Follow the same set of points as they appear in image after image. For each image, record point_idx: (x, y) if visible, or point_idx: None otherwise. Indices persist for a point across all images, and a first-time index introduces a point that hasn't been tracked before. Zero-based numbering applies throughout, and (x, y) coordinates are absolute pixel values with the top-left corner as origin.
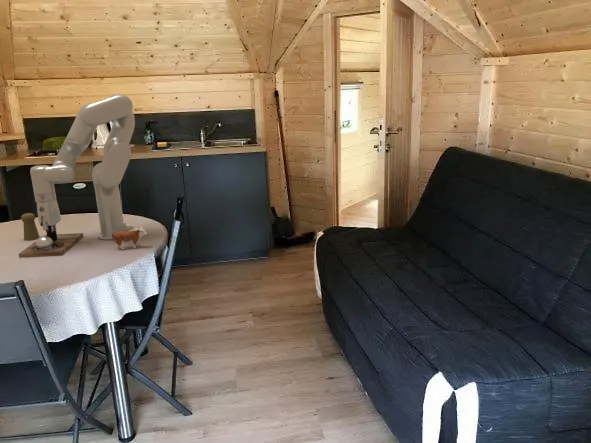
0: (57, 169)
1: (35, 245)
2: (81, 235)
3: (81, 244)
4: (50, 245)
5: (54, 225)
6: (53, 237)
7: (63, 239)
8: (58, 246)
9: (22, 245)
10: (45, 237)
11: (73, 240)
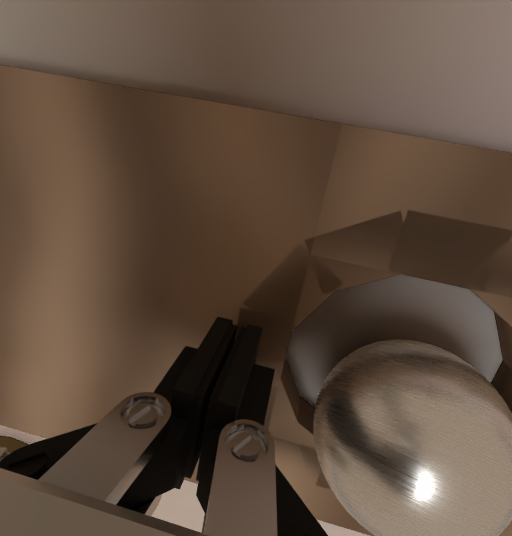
0: None
1: (292, 474)
2: (10, 68)
3: (306, 13)
4: (473, 367)
5: (117, 485)
6: (250, 371)
7: (166, 256)
8: (446, 275)
9: (165, 517)
10: (483, 500)
11: (243, 122)
